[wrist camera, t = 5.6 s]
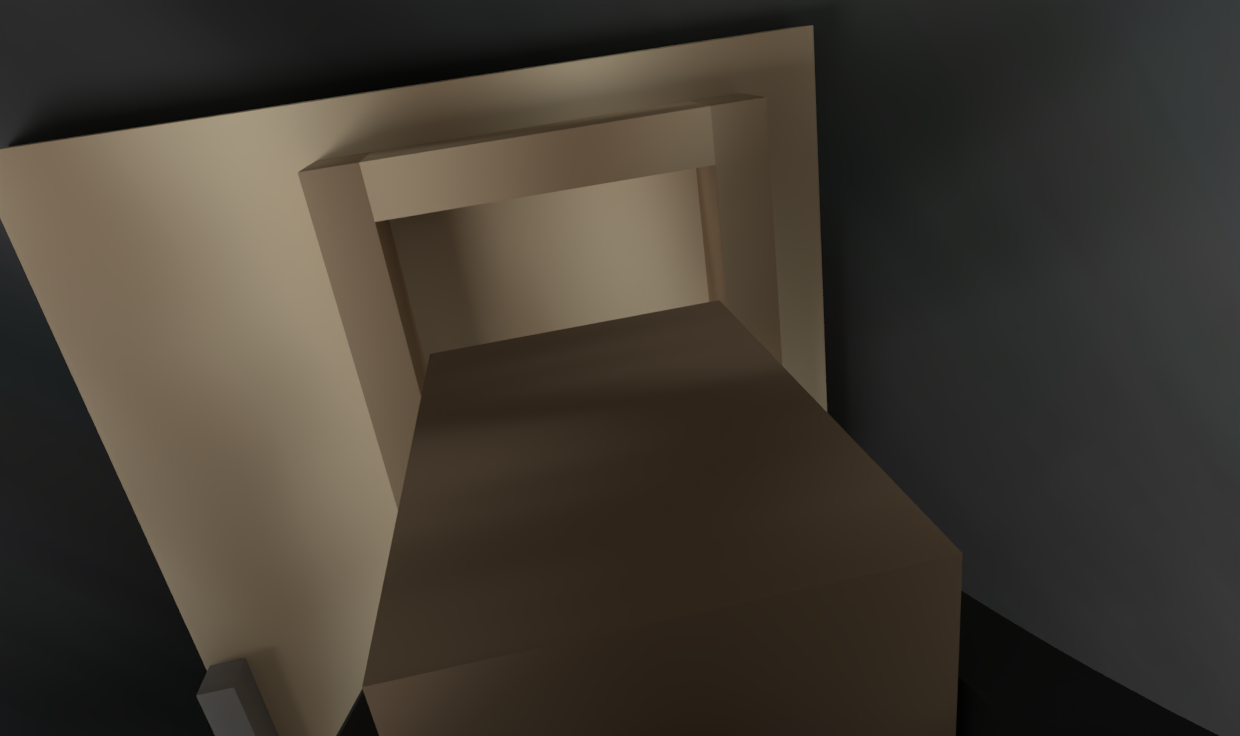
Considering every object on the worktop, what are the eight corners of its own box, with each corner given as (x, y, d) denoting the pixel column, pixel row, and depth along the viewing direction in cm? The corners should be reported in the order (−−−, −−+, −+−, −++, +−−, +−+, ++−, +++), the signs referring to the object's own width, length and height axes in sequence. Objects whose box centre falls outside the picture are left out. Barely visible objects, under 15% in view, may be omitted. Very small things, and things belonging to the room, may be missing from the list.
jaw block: (503, 644, 12) (518, 1247, 6) (429, 353, 10) (340, 800, 4) (746, 589, 13) (998, 1108, 6) (719, 300, 11) (1041, 634, 4)
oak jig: (340, 914, 23) (324, 1010, 20) (4, 147, 14) (-90, 164, 12) (828, 792, 24) (864, 870, 22) (794, 26, 15) (847, 21, 13)
